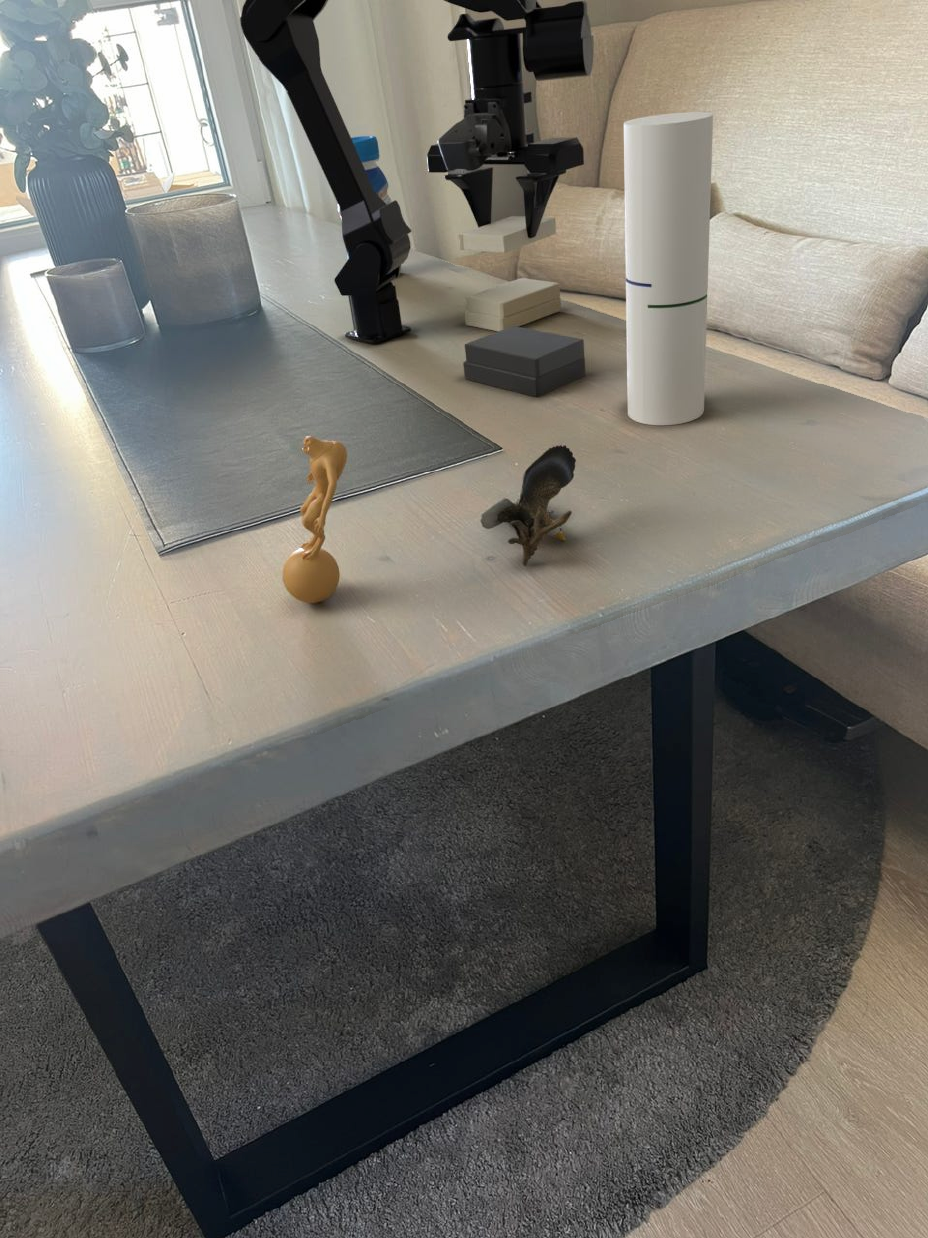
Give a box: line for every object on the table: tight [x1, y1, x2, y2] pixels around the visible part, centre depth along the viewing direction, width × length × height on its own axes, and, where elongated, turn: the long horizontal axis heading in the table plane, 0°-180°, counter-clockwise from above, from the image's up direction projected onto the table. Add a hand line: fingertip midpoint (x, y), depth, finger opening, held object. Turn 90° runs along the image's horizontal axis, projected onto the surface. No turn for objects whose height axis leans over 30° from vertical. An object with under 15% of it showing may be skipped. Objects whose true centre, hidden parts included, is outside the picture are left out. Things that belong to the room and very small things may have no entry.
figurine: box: [282, 435, 348, 604], centre depth 64 cm, size 8×6×12 cm
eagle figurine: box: [479, 444, 577, 566], centre depth 70 cm, size 8×7×9 cm
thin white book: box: [458, 215, 557, 254], centre depth 111 cm, size 10×7×2 cm, turn 140°
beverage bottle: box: [337, 135, 392, 260], centre depth 147 cm, size 8×8×20 cm
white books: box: [464, 277, 562, 332], centre depth 122 cm, size 11×7×4 cm
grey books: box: [462, 326, 586, 398], centre depth 101 cm, size 11×8×4 cm
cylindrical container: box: [623, 111, 714, 426], centre depth 83 cm, size 7×7×25 cm
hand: (508, 236), depth 111 cm, fingers closed on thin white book, 7 cm apart
